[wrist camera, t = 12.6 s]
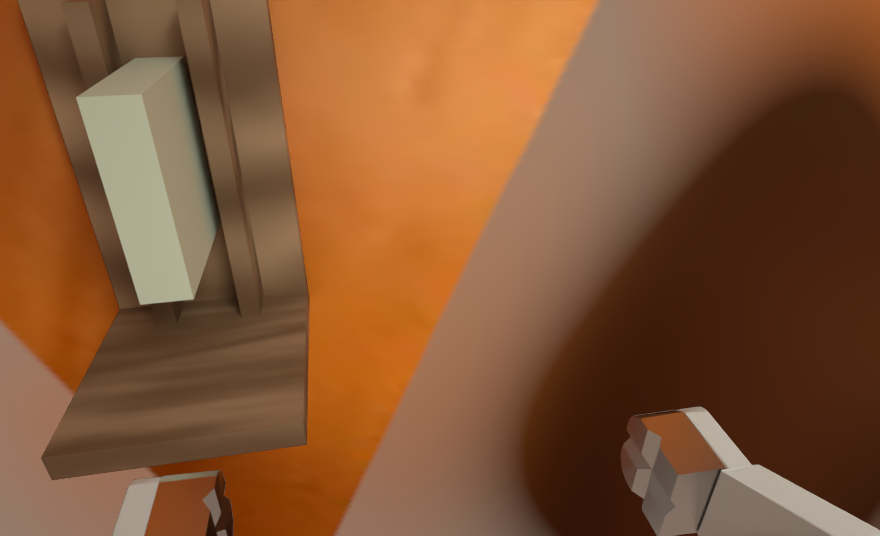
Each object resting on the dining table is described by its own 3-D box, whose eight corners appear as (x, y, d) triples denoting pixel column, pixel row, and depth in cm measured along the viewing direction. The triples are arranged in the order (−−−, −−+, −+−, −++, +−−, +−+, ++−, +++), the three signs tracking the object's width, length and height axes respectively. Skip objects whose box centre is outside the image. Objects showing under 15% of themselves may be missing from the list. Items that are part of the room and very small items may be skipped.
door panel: (135, 58, 31) (75, 97, 24) (183, 56, 32) (141, 94, 24) (177, 226, 36) (140, 304, 29) (219, 223, 37) (193, 299, 29)
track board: (27, -4, 30) (-164, 35, 18) (266, -9, 32) (236, 23, 20) (131, 317, 40) (51, 480, 28) (309, 299, 42) (306, 444, 30)
